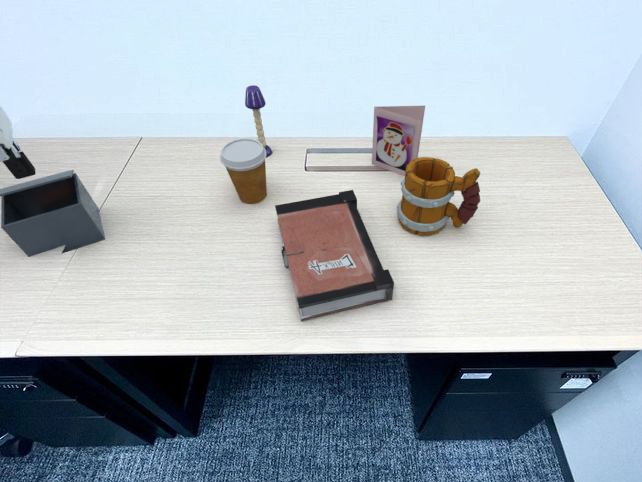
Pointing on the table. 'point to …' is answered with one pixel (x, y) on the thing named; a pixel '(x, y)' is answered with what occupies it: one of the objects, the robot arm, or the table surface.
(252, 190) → the disposable coffee cup
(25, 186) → the flap
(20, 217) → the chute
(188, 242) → the table surface
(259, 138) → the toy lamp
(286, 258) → the book
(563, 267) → the table surface
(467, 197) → the mug
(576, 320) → the table surface
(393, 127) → the greeting card
